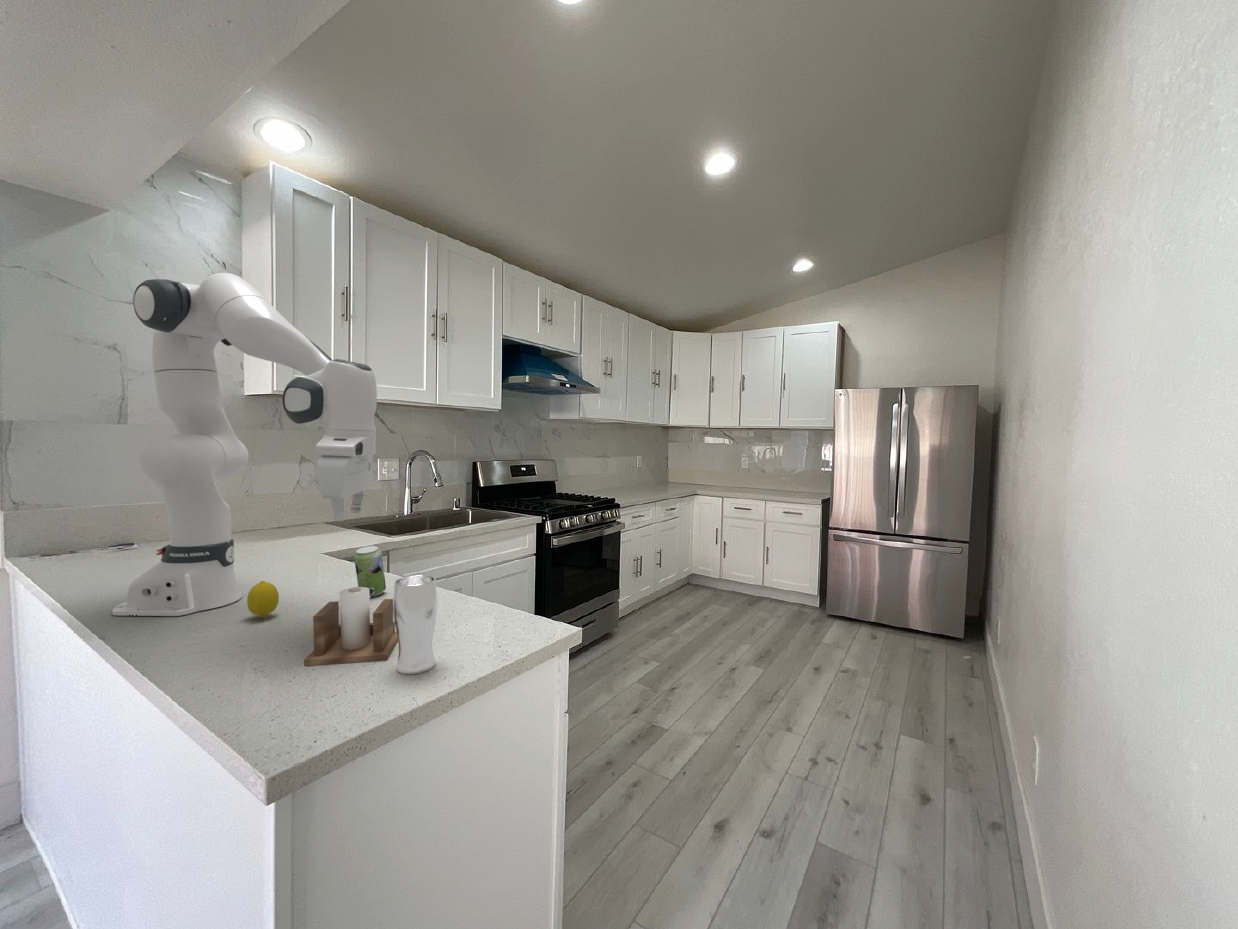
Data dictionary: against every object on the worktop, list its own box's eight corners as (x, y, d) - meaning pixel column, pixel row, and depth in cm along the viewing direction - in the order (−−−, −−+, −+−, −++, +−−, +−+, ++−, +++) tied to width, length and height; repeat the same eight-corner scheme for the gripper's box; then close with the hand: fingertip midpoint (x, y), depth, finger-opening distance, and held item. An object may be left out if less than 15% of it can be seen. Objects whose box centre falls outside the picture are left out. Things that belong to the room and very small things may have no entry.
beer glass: (402, 658, 91) (401, 574, 91) (442, 657, 92) (441, 574, 91) (387, 676, 84) (386, 586, 84) (430, 675, 85) (430, 585, 84)
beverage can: (390, 591, 130) (390, 544, 129) (374, 600, 123) (373, 550, 122) (367, 590, 131) (366, 543, 130) (349, 599, 123) (348, 549, 123)
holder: (304, 665, 88) (303, 619, 87) (327, 640, 99) (326, 599, 98) (387, 660, 91) (386, 615, 90) (400, 636, 101) (400, 596, 101)
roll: (337, 650, 92) (335, 594, 91) (345, 640, 96) (344, 586, 96) (366, 648, 93) (365, 592, 92) (373, 638, 97) (372, 585, 97)
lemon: (246, 617, 111) (245, 580, 110) (277, 611, 114) (276, 576, 114) (249, 624, 106) (248, 586, 106) (280, 618, 110) (280, 581, 110)
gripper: (350, 443, 109) (348, 508, 110) (311, 445, 89) (310, 525, 89) (382, 444, 110) (380, 509, 111) (351, 447, 90) (349, 525, 91)
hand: (348, 516), depth 100 cm, fingers open, 8 cm apart
